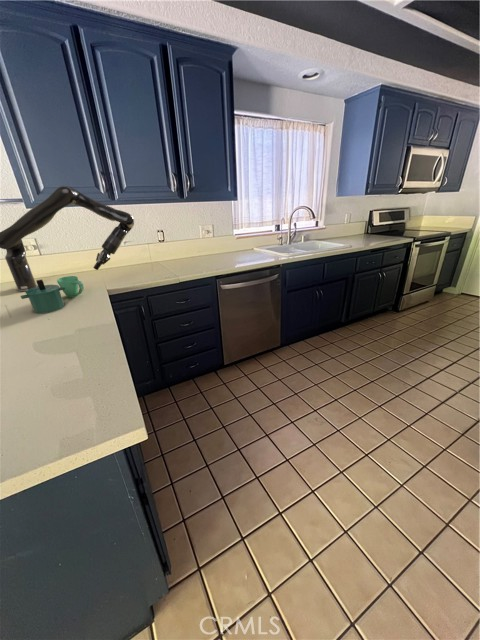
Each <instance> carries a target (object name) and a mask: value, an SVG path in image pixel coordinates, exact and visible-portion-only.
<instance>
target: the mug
mask: <svg viewBox="0 0 480 640" xmlns="http://www.w3.org/2000/svg"><path fill="white" fill-rule="evenodd" d="M56 283H57V285H58V286H59V287H65V290H61V291H62V292H63V293H64V294H65V296H66V297H67V298H75V297H78V296H79V295H81V294H82V292H83V291H84V288H85V287H84V283H83V282H82V281H81V280H79V277H78V276H76V275H68V276H67V275H66V276H62V277H59V278H57V279H56Z"/></svg>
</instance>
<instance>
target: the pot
mask: <svg viewBox="0 0 480 640" xmlns="http://www.w3.org/2000/svg"><path fill="white" fill-rule="evenodd" d="M62 290H65V287H60V286H59V289H58V290H56V291H53V292H50V293H46V294H41V295H27V294H22V295H20V298H21V300H25V299H28V300H29V302H30V306H31V308H32V310H33V312H34V313H36V314H47V313H48V314H49V313H53V312H56V311H58V310H60V309H62V308H64V307H65V303H64V300H63V297H62V294H61V291H62Z"/></svg>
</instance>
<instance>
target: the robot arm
mask: <svg viewBox="0 0 480 640" xmlns="http://www.w3.org/2000/svg"><path fill="white" fill-rule="evenodd" d="M71 205H74V206H77V207H81V208H84V209H87V210H89V211H90V212H92V213H94V214H96V215H97V216H99V217H101V218H104V219H106V220H108V221H112V222H118V223H119V224H118V225H117V226H115V227H113V230H112V231H111V232H110V234H109V235H108V236H107V238H106V239H105V241H103V243H102V244H101V248H102V250H101V251H100V252H98V253H97V255H96V258H95V261H96V263H95V264H94V266H92V267H93V269H94V270H95V271H99V269H100V267H101V266H102V265H106V263H108V262H109V261H110V260H111V255H115V254H116V252H117V251H118V250H119V248H120V246H121V244H122V242H123V241H124V240H125V238H126V236H127V235H128V234H129V233H130V231H131V230H132V229H133V228H134V226H135V219H134V216H133V215H132V214H130V213H129V212H126V211H123V210H120V209H116V208H114V207H112V206H109V205H107V204H105V203H102V202H99V201H97V200H95V199H93V198H91V197H89V196H87V195H85V194H83V193H82V192H80V191H79V190H77V189H76V188H74V187H72V186H68V185H59V187H57V188H56V189H55V190H54V191H53V192H52V193H51V194H50V195H49V196H48V197H47V198H45V199H44V200H42V201H41V202H40V203H38V204H36V205H35V206H33V207H32V208H30V209H29V210H28V211H26V212H25V213H24V214H23V215H22V216H20V217H19V218H18V219H17V220H16V221H15V222H14V223H13V224H11V225H10V226H9V227H7V228H5V229H3V230H2V231H0V249H1V250H5V252H6V254H5V256H4V259H5V261H6V264H7V266H8V268H9V269H8V270H9V272H10V273H11V276H12V279H13V281H14V283H15V286H16V288H17V291H18V292H26V291H27V290H28V289H31V288H34V287H38V284H36V283H37V282H36V280H35V278H34V275H33V273H32V269H31V266H30V265H29V262H28V259H27V251H26V248H25V245H24V242H23V240H22V239H24V238H25V237H27V236H29V235H31V234H33V233H36V232H37V231H39V230H40V229H42V228H43V227H45V226H47V225H48V224H49V223H50V222H51V221H52V220H53V218H54V217H55V216H56V214H57V213H58V212H60V211H61V210H63V209H64V208H66V207H69V206H71Z"/></svg>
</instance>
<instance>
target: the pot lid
mask: <svg viewBox="0 0 480 640" xmlns="http://www.w3.org/2000/svg"><path fill="white" fill-rule="evenodd" d="M36 283H37V284H36V285H37V287H34V288H31V289H28V290H27V291H24V293H25V295H41V294H46V293H50V292H53V291H56V290H58V289H59V287H60V286H59V284H45V283H44V281H43V279H37V280H36Z"/></svg>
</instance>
